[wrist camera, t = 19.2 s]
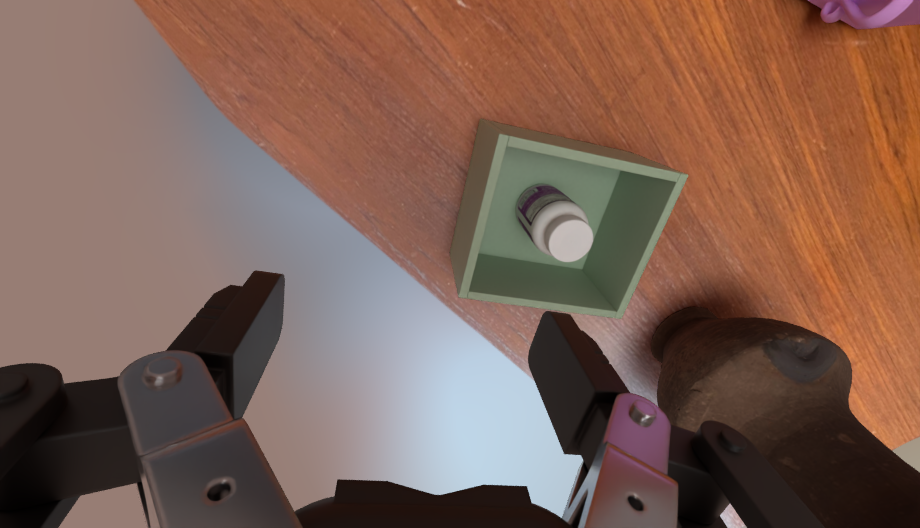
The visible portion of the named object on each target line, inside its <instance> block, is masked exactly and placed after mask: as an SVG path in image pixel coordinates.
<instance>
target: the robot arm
mask: <svg viewBox="0 0 920 528" xmlns="http://www.w3.org/2000/svg"><path fill="white" fill-rule="evenodd" d="M284 286H285V278H284V275H283V274H278V273H270V272H263V271H254V272H253V273H252V274H251V276H250V277H249V278H248V280H247V281H246V282H245V284H244V285H243V286H235V285H230V286H228V287H226V288H224V289H222V290H220V291H218V292H216V293H214V294H213V296H212V297H211V298H210V299H209V300H208V301H207V303H206V304H205V305H204V308H202V309H201V310H200V311H199V312H198V313H197V315H196V317H194V318H193V319H192V320H191V321H190V323H189V324H188V325H187V326H186V328H185V329H184V330H183V331H182V332H181V333H180V334H179V336H178V337H177V338H176V339H175V340H174V342H173V343H172V344H171V345H170V346H169V347H168V349H167V350H166V351H163V352H158V353H153V354H150V355H147V356H145V357H142V358H140V359H138V360H136V361H134V362H133V363H131V364H130V365H129V366H127V367H126V368H125V369H124V370H123V371H122V372H121V374H120V376H118V377H113V378H107V379H99V380H91V381H82V382H74V383H66V384H64V382H63V378H62V374H61V373H60V371H59V370H58V369H56V368H55V367H52V366H49V365H45V364H37V363H26V364H17V365H10V366H5V367H1V368H0V528H58V527H59V526H60V524H61V523H62V521H63V520H64V518H65V517H66V516H67V514H68V513H69V511H70V510H71V508H72V507H73V505H74V504H75V502H76V501H77V500H78V498H79V497H80V496H81V495H85V494H90V493H93V492H98V491H102V490H107V489H112V488H116V487H120V486H125V485H129V484H133V483H136V487H137V491H138V494H139V499H140V502H141V506H142V510H143V514H144V518H145V522H146V525H147V528H727V526H726V525H725V523H724V522H723V520H722V518H721V517H720V515H721V513H722V512H723V511H724V510H725V508H726V507H727V506H728V505H729V504H730V503H731V505H732V506H733V508H734V509H735V511H736V512H737V514H738V515H739V517H740V518H741V519H742V521H743V522H744V524H745V525H746V527H747V528H825V527H824V526H823V525H822V523H821V522H820V521H819V520H818V519H817V518H816V516H815V515H814V514H813V513H812V512H811V511H810V509H809V508H808V507H807V506H806V505H805V504H804V503H803V501H802V500H801V499H800V498H799V497H798V496H797V494H796V493H795V492H794V491H793V490H792V489H791V487H790V486H789V485H788V484H787V483H786V482H785V480H784V479H783V478H782V477H781V476H780V475H779V473H778V472H777V471H776V470H775V469H774V468H773V467H772V465H771V464H770V463H769V462H768V461H767V460H766V458H765V457H764V456H763V455H762V454H761V453H760V451H759V450H758V449H757V448H756V447H755V446H754V445H753V443H752V442H751V441H750V440H748V439H747V438H746V437H745V436H744V435H743V434H741V433H740V432H738V431H737V430H735V429H734V428H732V427H730V426H728V425H726V424H724V423H721V422H718V421H713V420H707V421H704V422H703V423H702V424H701V425H700V427H699V428H698V430H697V431H696V433H695V432H692V431H689V430H686V429H683V428H680V427H677V426H674V425H671V424H670V421H669V419H668V417H667V416H666V415H665V413H664V412H663V411H662V410H661V409H660V408H659V407H658V406H657V405H655V404H654V403H653V402H651V401H650V400H648V399H646V398H644V397H642V396H639V395H636V394H633V393H630V392H629V390H628V389H627V387H626V386H625V384H624V383H623V381H622V380H621V378H620V377H619V375H618V374H617V373H616V371H615V370H614V368H613V367H612V365H611V364H609V361H608V359H607V358H606V356H605V355H603V352H602V351H601V349H600V348H599V346H598V345H597V343H596V342H595V341H594V340H593V339H592V338H591V337H589V336H588V335H587V334H586V333H585V332H584V331H581V330H580V329H579V327H578V326H577V324H576V323H575V321H574V320H573V318H572V317H571V315H570V314H566V313H558V312H551V311H546V312H545V313H544V314H543V315H542V318H541V320H540V323H539V326H538V328H537V331H536V333H535V336H534V339H533V341H532V344H531V347H530V350H529V355H528V363H529V368H530V371H531V373H532V375H533V378H534V380H535V383H536V385H537V388H538V390H539V393H540V395H541V397H542V400H543V402H544V405H545V408H546V410H547V413H548V415H549V417H550V420H551V422H552V425H553V427H554V429H555V432H556V435H557V437H558V440H559V442H560V445H561V447H562V449H563V452H564V454H573V455H581V456H582V458H583V462H582V464H581V466H580V467H579V469H578V473H577V476H576V478H575V481H574V484H573V487H572V490H571V493H570V496H569V499H568V502H567V505H566V508H565V511H564V514H563V516H562V518H560V517H559V516H557V515H556V514H554V513H552V512H550V511H549V510H547V509H545V508H543V507H540V506H538V505H536V504H532V503H531V499H530V496H529V492H528V489H527V486H502V485H481V486H477V487H473V488H468V489H464V490H460V491H456V492H452V493H448V494H443V495H433V494H430V493H426V492H423V491H419V490H416V489H412V488H409V487H405V486H402V485H398V484H395V483H392V482H388V481H365V480H364V481H363V480H337V485H336V491H335V496H334V497H330V498H326V499H322V500H319V501H316V502H314V503H311V504H309V505H307V506H305V507H303V508H300V509H298V510H296V511H295V512H294V510H293V508H292V506H291V505H290V503H289V501H288V499H287V497H286V495H285V493H284V491H283V490H282V488H281V486H280V484H279V482H278V480H277V478H276V477H275V475H274V473H273V471H272V469H271V467H270V465H269V463H268V461H267V460H266V458H265V456H264V454H263V452H262V450H261V448H260V446H259V445H258V443H257V441H256V439H255V437H254V435H253V433H252V432H251V430H250V428H249V426H248V424H247V423H246V421H245V420H244V419H243V418H242V417H243V414H244V412H245V410H246V408H247V406H248V404H249V402H250V400H251V398H252V395H253V393H254V391H255V389H256V387H257V385H258V383H259V380H260V378H261V376H262V374H263V372H264V370H265V367H266V366H267V363H268V361H269V359H270V357H271V355H272V353H273V351H274V349H275V346H276V344H277V342H278V340H279V337H280V333H281V329H282V323H283V307H284V305H283V304H284Z"/></svg>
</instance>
